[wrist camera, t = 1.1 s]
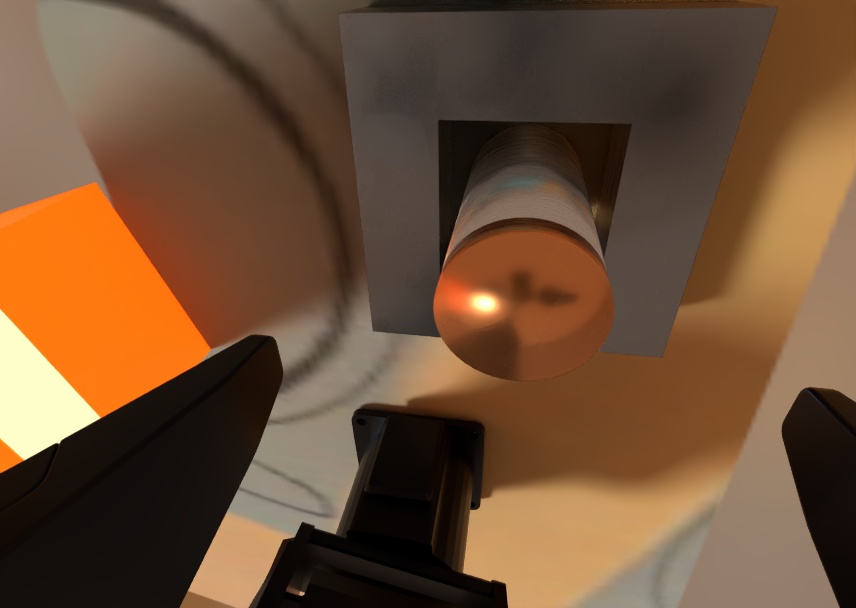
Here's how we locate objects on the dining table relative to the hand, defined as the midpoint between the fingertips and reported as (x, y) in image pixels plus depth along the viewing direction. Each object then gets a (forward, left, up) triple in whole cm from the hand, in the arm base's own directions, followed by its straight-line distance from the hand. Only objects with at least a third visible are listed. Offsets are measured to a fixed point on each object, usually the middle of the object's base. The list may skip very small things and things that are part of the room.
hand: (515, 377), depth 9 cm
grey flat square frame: (0, 0, -10) cm, 10 cm away
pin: (0, 0, -10) cm, 10 cm away
